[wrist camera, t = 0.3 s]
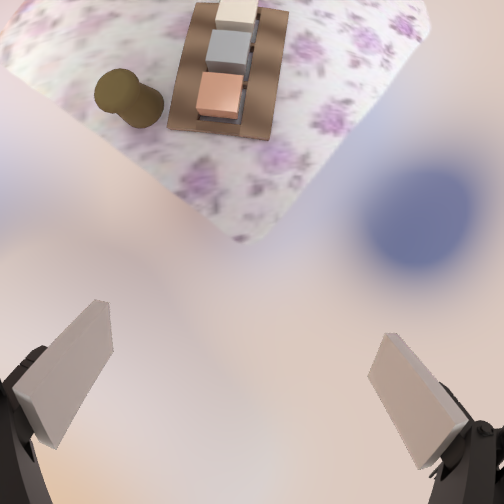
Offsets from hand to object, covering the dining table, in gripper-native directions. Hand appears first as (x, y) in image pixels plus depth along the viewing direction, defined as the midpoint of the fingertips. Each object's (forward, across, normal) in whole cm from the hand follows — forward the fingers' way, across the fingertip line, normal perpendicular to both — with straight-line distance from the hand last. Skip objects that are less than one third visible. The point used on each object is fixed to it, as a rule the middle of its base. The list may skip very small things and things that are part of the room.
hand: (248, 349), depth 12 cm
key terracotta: (+24, -5, +16) cm, 30 cm away
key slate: (+24, -5, +22) cm, 33 cm away
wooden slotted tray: (+27, -5, +22) cm, 36 cm away
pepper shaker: (+27, -16, +15) cm, 35 cm away
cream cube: (+24, -5, +28) cm, 38 cm away
